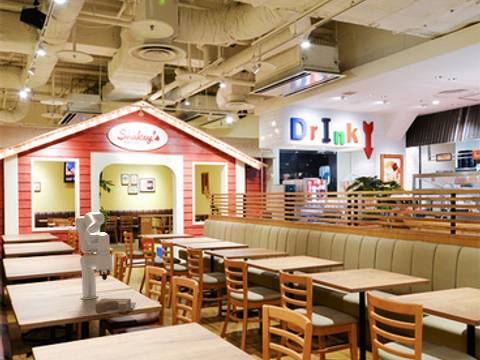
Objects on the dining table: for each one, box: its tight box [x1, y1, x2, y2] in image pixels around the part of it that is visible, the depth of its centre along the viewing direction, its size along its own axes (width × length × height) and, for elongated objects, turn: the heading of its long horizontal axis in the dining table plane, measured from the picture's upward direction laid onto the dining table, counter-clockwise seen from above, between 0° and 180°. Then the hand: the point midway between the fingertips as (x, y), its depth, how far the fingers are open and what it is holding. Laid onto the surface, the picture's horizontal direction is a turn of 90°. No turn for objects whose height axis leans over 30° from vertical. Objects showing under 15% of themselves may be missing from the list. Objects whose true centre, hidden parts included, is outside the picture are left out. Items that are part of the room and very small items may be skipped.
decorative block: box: [95, 298, 132, 313], centre depth 305 cm, size 11×6×20 cm
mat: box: [105, 301, 136, 312], centre depth 313 cm, size 16×20×1 cm
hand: (104, 279), depth 314 cm, fingers closed
